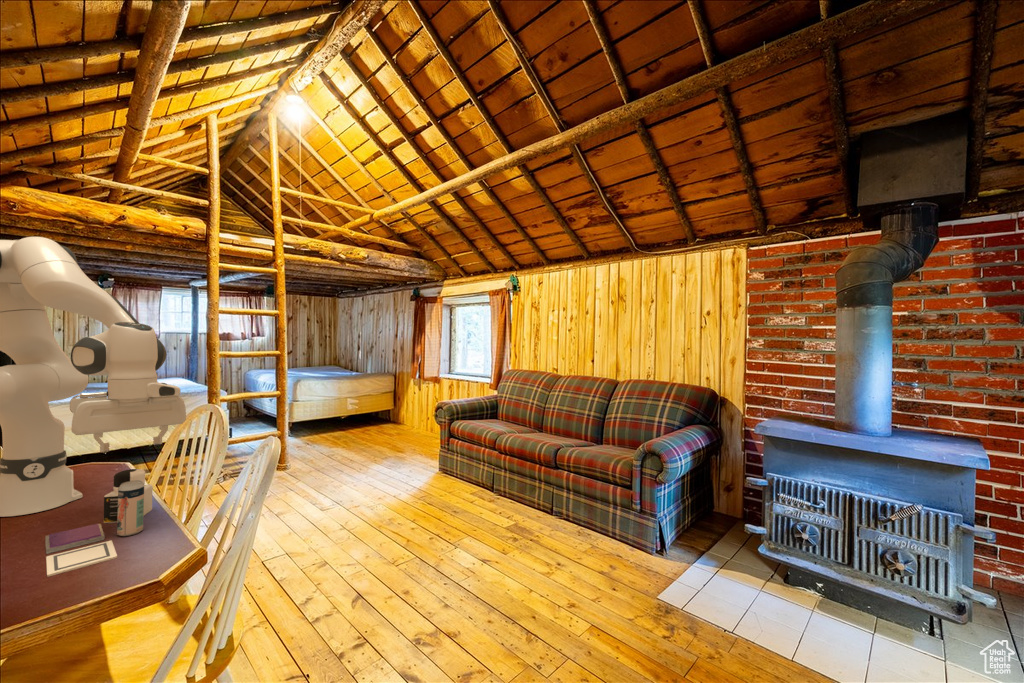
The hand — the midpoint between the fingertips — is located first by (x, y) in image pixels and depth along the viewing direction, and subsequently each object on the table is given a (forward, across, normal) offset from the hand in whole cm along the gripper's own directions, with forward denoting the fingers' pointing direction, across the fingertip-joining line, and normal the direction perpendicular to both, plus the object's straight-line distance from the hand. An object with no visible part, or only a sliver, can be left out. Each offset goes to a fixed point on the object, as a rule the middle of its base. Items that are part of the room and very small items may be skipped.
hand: (132, 447), depth 100 cm
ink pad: (+20, -9, +4) cm, 23 cm away
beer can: (+21, 0, 0) cm, 21 cm away
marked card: (+20, -8, -8) cm, 24 cm away
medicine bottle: (+21, +1, +12) cm, 24 cm away
